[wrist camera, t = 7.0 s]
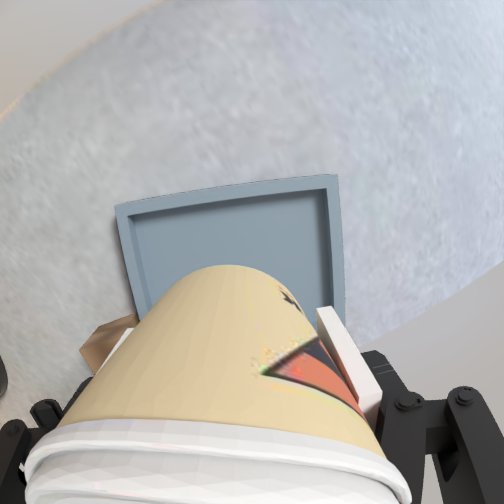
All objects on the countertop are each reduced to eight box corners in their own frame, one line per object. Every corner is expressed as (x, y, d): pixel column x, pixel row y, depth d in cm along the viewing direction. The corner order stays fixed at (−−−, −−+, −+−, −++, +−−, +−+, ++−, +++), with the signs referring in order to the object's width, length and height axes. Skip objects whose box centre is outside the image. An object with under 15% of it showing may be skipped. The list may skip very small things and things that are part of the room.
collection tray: (156, 343, 29) (150, 356, 27) (124, 202, 26) (114, 205, 23) (338, 322, 29) (345, 334, 27) (329, 174, 26) (337, 174, 23)
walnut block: (123, 364, 30) (107, 392, 25) (99, 326, 29) (78, 350, 24) (160, 353, 30) (148, 382, 25) (137, 312, 28) (119, 336, 24)
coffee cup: (329, 383, 16) (394, 570, 5) (175, 411, 17) (135, 588, 5) (303, 225, 14) (476, 403, 3) (116, 270, 14) (-56, 433, 3)
